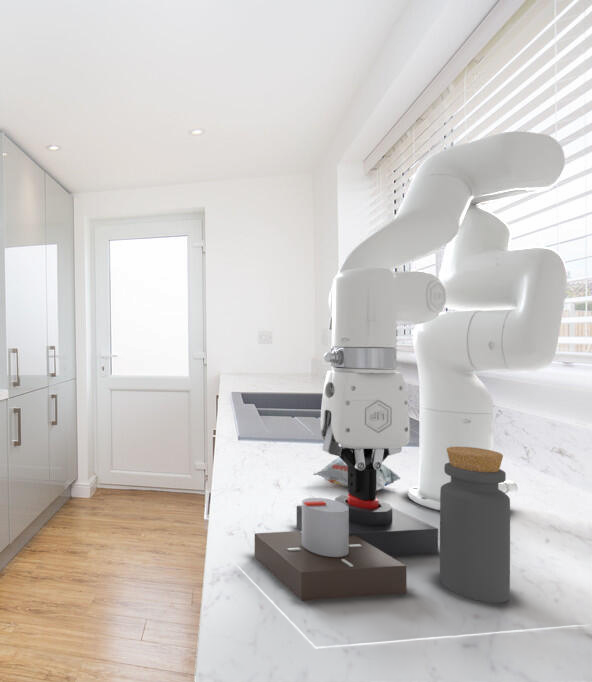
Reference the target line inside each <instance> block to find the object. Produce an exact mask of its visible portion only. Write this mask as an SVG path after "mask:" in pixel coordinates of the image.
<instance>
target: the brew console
mask: <svg viewBox="0 0 592 682" xmlns="http://www.w3.org/2000/svg"><path fill="white" fill-rule="evenodd" d="M254 559H256V560H257V561H258V562H259V563H260V564H261V565H262V566H263V567H264V568H265V569H267V570H268V571H269V572H270V573H271V574H272V575H273V576H274V577H275V578H276V579H278V580H279V582H281V583H282V585H284V586H285V587H286V588H287V589H288V590H289V591H290V592H291V593H292V594H293V595H295V597H297V598H298V600H300V601H301V602H303V601H319V600H329V599H330V600H331V599H347V598H358V597H359V598H360V597H373V596H387V595H401V594H402V595H403V594H407V573H408V571H407V567H408V566H407V565H406V564H404V563H403V562H401V561H399V560H397V559H396V558H395V557H393V556H389V555H387V554H386V553H384V552H382V551H380V550H379V549H377V548H375V547H374V546H372V545H370V544H369V543H367V542H365V541H364V540H362V539H360V538H358V537H357V536H355V535H349V553H348V554H347V555H346V556H343V557H328V556H322V555H319V554H315V553H313V552H310V551H308V550H307V549H305V548H304V547H303V546H302V531H301V530H293V531H276V532H257V533H255V532H254Z"/></svg>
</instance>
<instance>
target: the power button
mask: <svg viewBox="0 0 592 682" xmlns="http://www.w3.org/2000/svg"><path fill="white" fill-rule="evenodd" d="M347 495H348V504H350V505H352V506H356V507H360V508H367V509H378V508H379V500H380V499H379V498H378V497H377V496H376V500H369V499H368V500H367V501H363V500H361V499H359V498H357V497H354V496H352V495H350V494H349V493H348V494H347Z"/></svg>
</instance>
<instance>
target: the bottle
mask: <svg viewBox="0 0 592 682" xmlns="http://www.w3.org/2000/svg"><path fill="white" fill-rule="evenodd" d="M447 453H448V457H449V461H450V463H446V464H445V467H444V470H445V473H446V474H447V475H449V476H451V482H449V483H446V484H444V485H442V486H441V490H440V511H439V581H440V583H441V584H442V586H444V587H445V589H448V590H449V591H451V592H453V593H454V594H457V595H460V596H462V597H464V598H467V599H471V600H475V601H478V602H482V603H483V602H484V603H489V604H501V603H506V602H508V601H509V599H510V594H511V593H510V592H511V498H510V496H509V495H507V493H504V492H502V491H501V490H499V489H498V483H502V482H505V481H507V480H506V477H507V475H506V474H507V473H506V472H505V471H504V470H502V469H501V465H502V462H503V458H504V454H502V453H501V452H498V451H495V450H493V451H491V450H486V449H480V448H473V447H449V448H447Z"/></svg>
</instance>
